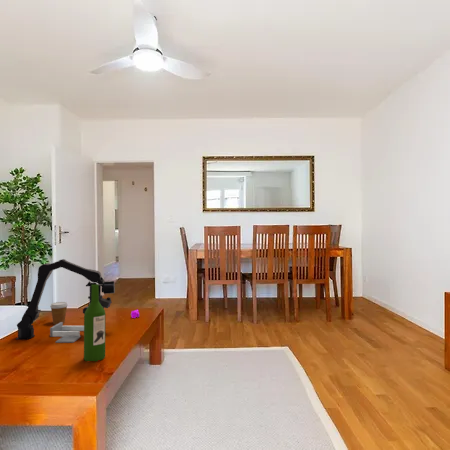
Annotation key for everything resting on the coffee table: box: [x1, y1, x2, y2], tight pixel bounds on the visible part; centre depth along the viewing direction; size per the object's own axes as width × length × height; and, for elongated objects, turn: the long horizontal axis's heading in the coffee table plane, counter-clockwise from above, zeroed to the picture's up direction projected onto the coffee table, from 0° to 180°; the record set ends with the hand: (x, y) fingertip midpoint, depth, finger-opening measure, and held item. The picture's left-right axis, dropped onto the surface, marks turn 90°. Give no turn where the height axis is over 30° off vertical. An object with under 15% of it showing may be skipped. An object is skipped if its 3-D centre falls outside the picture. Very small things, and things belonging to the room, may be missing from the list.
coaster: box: [55, 335, 82, 344], centre depth 177 cm, size 9×9×1 cm
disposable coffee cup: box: [50, 301, 68, 326], centre depth 208 cm, size 10×10×12 cm
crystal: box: [130, 309, 140, 319], centre depth 221 cm, size 5×5×5 cm
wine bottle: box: [83, 283, 106, 362], centre depth 152 cm, size 9×9×32 cm
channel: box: [49, 322, 84, 338], centre depth 188 cm, size 15×11×4 cm
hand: (94, 322), depth 188 cm, fingers open, 9 cm apart
